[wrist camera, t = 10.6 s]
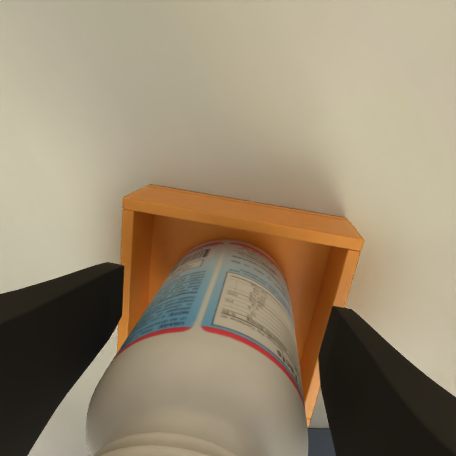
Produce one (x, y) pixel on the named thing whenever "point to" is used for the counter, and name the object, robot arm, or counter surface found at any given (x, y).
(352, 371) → the robot arm
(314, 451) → the blue block
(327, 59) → the counter surface
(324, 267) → the amber tray
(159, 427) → the pill bottle
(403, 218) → the counter surface
